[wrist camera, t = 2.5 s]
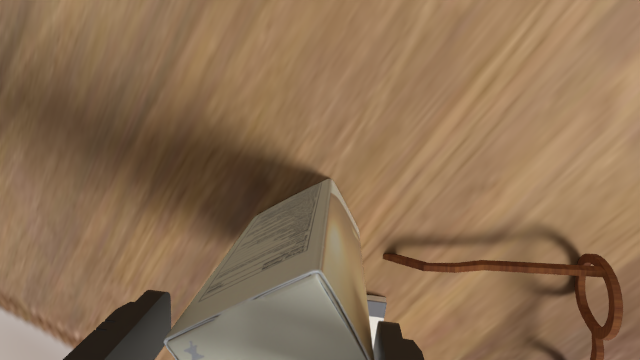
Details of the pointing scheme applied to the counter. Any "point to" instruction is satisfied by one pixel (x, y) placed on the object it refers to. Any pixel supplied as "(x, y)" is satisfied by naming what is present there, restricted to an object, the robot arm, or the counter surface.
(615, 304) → the glasses
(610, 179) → the counter surface
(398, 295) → the counter surface
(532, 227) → the counter surface
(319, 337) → the skincare box
